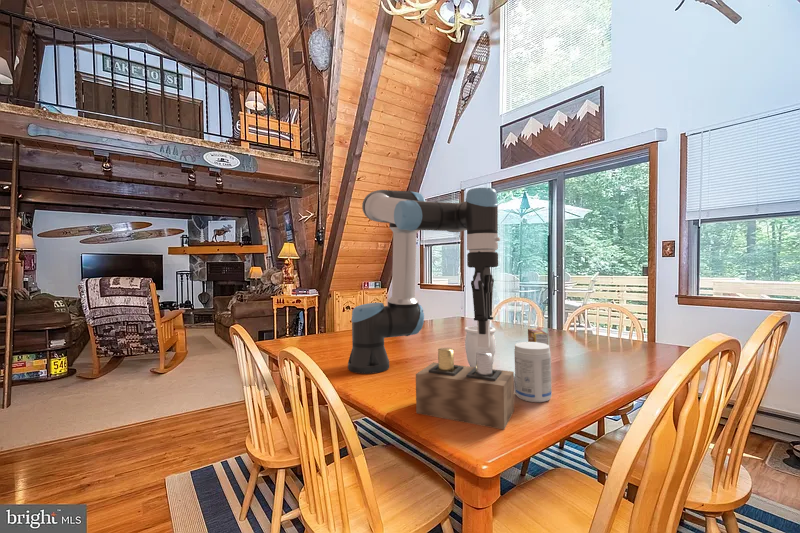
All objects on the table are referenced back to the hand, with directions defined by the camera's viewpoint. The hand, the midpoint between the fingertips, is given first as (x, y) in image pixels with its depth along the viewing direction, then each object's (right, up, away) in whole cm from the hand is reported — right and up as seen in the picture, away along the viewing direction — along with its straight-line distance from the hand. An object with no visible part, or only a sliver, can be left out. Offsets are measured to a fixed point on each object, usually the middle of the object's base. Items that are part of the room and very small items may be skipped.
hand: (483, 346), depth 93 cm
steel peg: (0, -12, 0) cm, 12 cm away
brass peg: (-9, -12, +5) cm, 15 cm away
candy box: (+25, -17, +30) cm, 43 cm away
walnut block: (-4, -17, +3) cm, 18 cm away
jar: (+7, -17, +38) cm, 42 cm away
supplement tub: (+17, -17, +12) cm, 27 cm away
